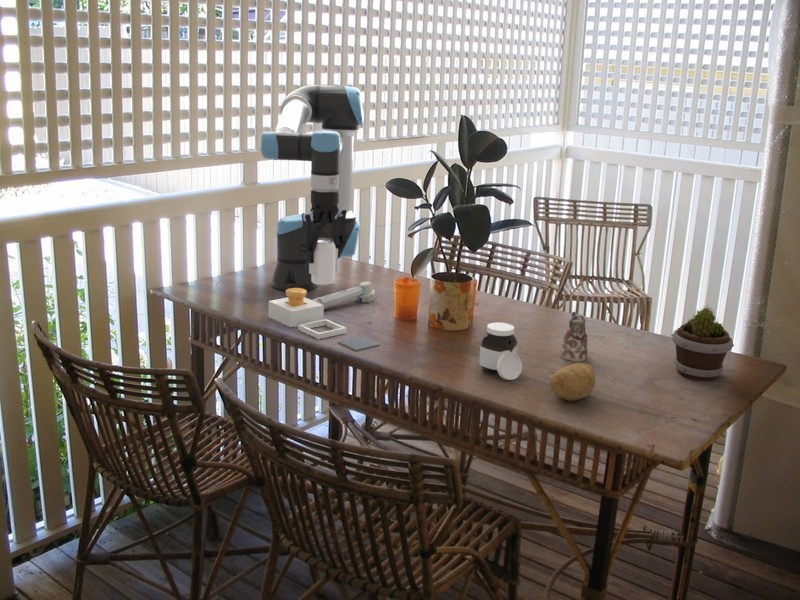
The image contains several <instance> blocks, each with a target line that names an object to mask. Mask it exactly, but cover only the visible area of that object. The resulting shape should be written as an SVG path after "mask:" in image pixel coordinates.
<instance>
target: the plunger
mask: <svg viewBox="0 0 800 600" xmlns="http://www.w3.org/2000/svg"><path fill="white" fill-rule="evenodd" d="M307 292H308V290H305V289H302V288H290V289H287V290H286V291H285V296H286V297H289V298H288V304H289V305H291V306H299V305H304V297H306V296H307Z"/></svg>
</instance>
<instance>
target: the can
mask: <svg viewBox="0 0 800 600" xmlns="http://www.w3.org/2000/svg"><path fill="white" fill-rule="evenodd" d="M335 251H336V247H335V244H334V240H333V239H329V238H318V241H317V245H316V248H315V252H317V275H311V281H312V282H313V284H315V285H318V286H324V287H325V286H332V285H333V284H334V283H335V282H336V281H335V280H336V272H335Z"/></svg>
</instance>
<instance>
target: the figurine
mask: <svg viewBox="0 0 800 600" xmlns="http://www.w3.org/2000/svg"><path fill="white" fill-rule="evenodd" d="M586 321H587V320H586V318H585V317H584V316H583V315H582V314H577V313H576V311H572V312H571V318H570V320H569V323H568V324H569V327H568V329H567V330H566V331H565V332H564V335H563V337H562V341H561V346H560V352H559V353H560V354H559V355H560V357H561V358H562V359H565V360H568V361H571V362H582V361H585V360H587V358H588V340H589V339H588V337H589V336H588V333H587V332H586Z"/></svg>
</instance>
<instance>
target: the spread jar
mask: <svg viewBox="0 0 800 600" xmlns="http://www.w3.org/2000/svg"><path fill="white" fill-rule="evenodd" d="M514 332H515V326H514V325H512V324H510V323H506V322H491V323H488V324H487V326H486V333H485V334H484V336H483V338H482V340H481V343H480V349H479V366H480V368H481V369H482V370H483V371H485V372H486V373H489V374H492V375H496V374H497V376H500V377H501V378H502V379H504V380H506V381H507V380H508V381H513V380H515V379H518V377H519V376H520V375H521V373H522V370H523V363H522V360H521V358H520V356H519V355H518V344H519V343H518V338H517V336H516V335H515V333H514Z"/></svg>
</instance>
